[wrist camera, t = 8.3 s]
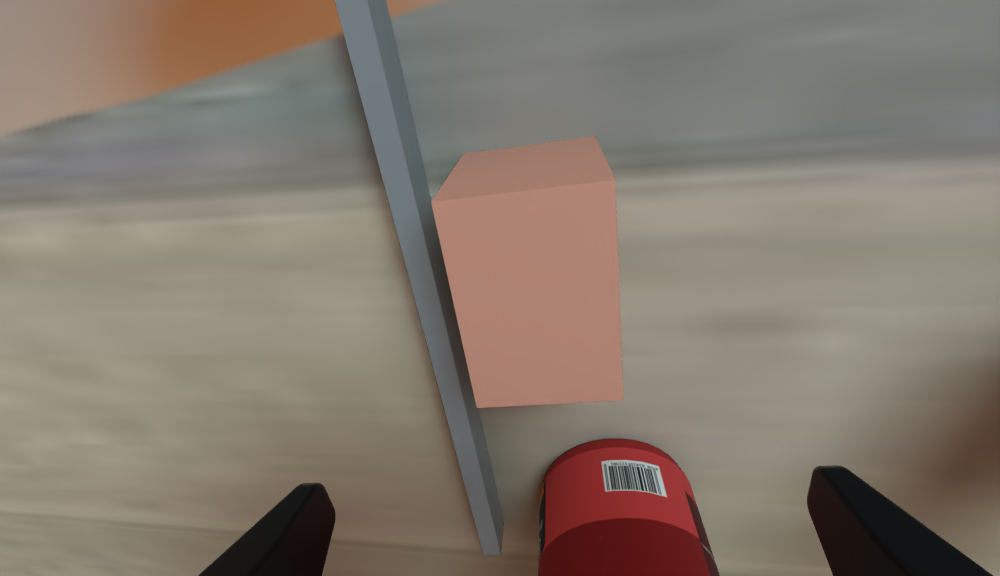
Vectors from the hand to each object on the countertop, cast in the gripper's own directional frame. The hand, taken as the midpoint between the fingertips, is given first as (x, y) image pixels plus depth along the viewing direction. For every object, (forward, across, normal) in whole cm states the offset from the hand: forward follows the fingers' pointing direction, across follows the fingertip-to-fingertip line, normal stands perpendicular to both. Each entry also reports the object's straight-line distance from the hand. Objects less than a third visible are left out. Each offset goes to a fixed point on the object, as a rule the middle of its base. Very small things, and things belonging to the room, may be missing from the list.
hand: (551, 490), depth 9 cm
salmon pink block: (+12, 0, 0) cm, 13 cm away
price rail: (+12, +5, +2) cm, 13 cm away
